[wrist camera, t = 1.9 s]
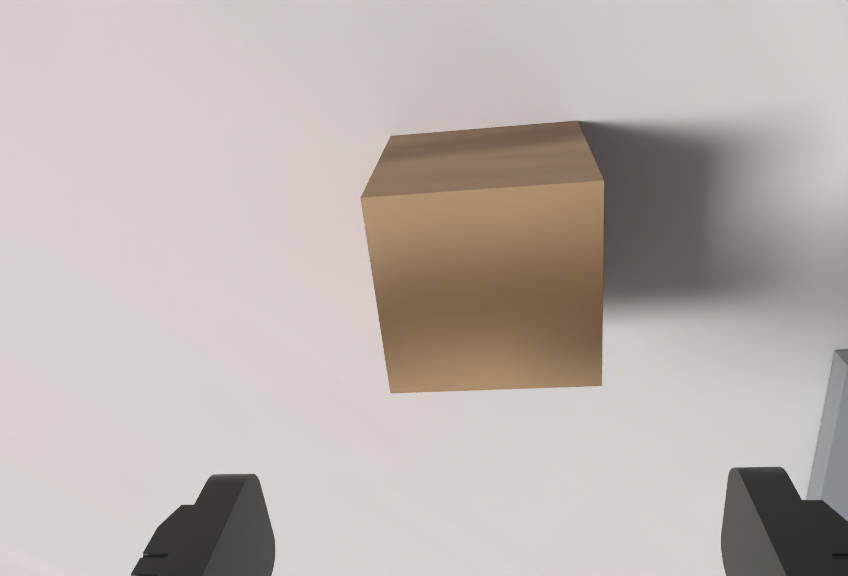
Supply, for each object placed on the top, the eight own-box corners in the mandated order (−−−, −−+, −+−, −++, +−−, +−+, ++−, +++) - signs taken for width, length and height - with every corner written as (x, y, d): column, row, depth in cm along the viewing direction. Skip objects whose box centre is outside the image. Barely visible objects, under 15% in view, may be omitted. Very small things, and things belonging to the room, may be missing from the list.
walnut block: (391, 135, 23) (360, 197, 18) (577, 120, 22) (604, 180, 17) (411, 296, 26) (390, 393, 20) (578, 287, 25) (601, 385, 20)
